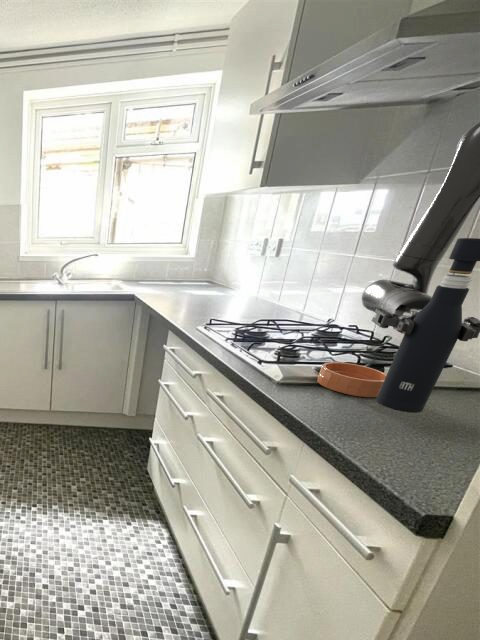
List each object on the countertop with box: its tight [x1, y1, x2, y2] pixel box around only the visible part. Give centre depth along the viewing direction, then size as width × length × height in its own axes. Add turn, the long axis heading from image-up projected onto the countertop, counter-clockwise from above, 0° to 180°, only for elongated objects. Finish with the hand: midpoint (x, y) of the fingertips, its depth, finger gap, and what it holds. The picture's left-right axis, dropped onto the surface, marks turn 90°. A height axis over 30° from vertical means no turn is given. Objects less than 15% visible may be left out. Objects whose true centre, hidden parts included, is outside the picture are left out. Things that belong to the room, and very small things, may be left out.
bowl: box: [316, 361, 387, 398], centre depth 100 cm, size 12×12×4 cm
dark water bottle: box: [375, 237, 480, 414], centre depth 73 cm, size 6×6×30 cm
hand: (438, 332), depth 71 cm, fingers closed on dark water bottle, 6 cm apart
